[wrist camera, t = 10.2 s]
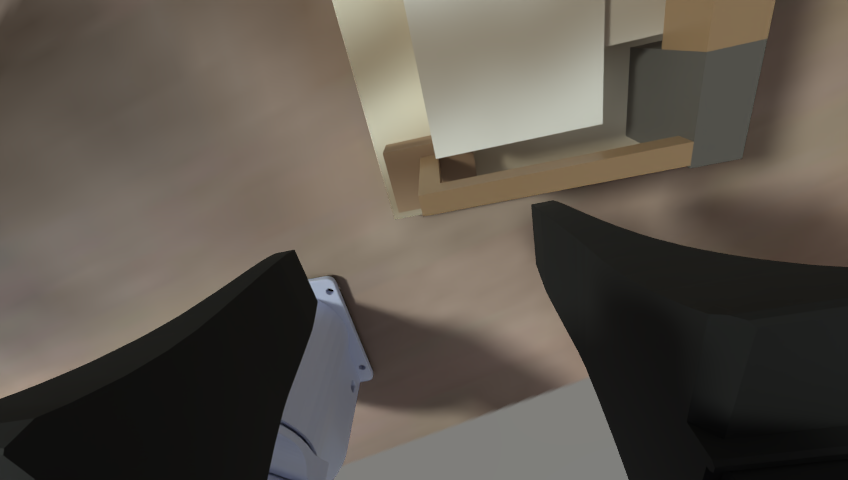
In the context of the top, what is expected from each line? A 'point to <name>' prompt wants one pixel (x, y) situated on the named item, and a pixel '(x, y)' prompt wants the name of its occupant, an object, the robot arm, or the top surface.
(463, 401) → the top surface
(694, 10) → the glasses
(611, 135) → the stand
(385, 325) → the top surface
